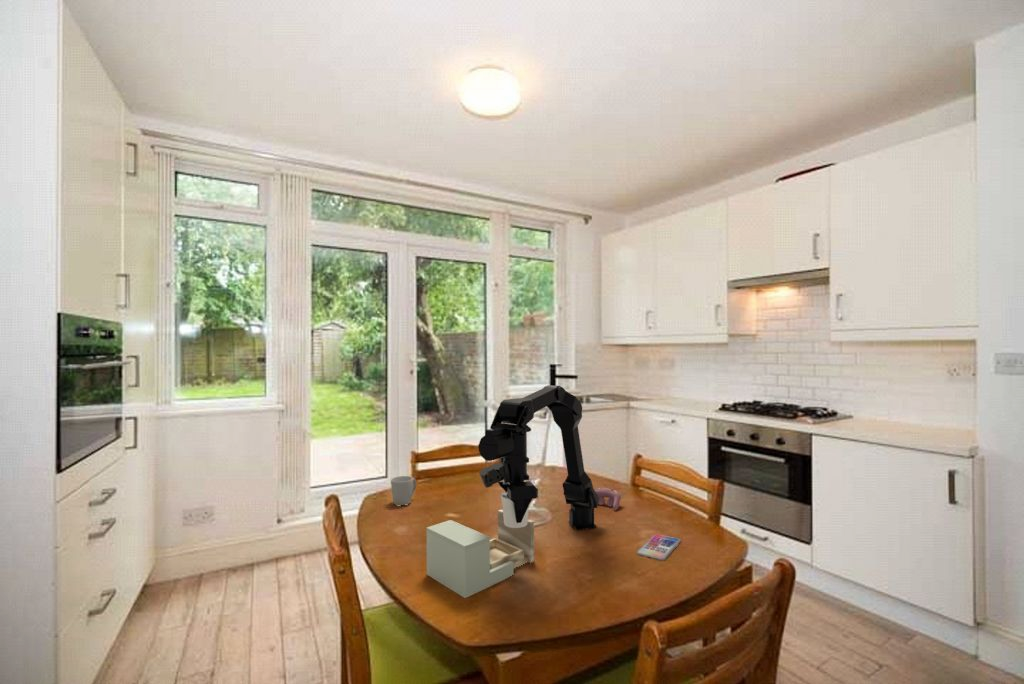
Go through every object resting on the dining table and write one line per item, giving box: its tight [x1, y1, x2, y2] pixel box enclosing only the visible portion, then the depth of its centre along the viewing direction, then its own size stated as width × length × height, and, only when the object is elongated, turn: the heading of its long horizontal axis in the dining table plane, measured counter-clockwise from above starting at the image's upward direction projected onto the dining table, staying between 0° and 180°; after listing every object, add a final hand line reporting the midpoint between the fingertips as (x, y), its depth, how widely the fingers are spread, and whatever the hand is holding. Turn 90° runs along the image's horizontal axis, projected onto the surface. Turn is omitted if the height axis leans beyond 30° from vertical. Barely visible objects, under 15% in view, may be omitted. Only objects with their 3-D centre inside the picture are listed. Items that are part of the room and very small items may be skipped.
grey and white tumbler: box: [500, 491, 530, 528], centre depth 111 cm, size 7×7×7 cm
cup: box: [390, 475, 417, 506], centre depth 161 cm, size 8×10×8 cm
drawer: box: [490, 509, 535, 570], centre depth 115 cm, size 14×12×10 cm
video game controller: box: [594, 487, 622, 511], centre depth 155 cm, size 10×5×7 cm, turn 58°
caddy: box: [426, 519, 515, 599], centre depth 109 cm, size 14×15×11 cm
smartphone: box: [636, 533, 681, 562], centre depth 123 cm, size 7×1×15 cm
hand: (515, 517), depth 111 cm, fingers closed on grey and white tumbler, 6 cm apart
